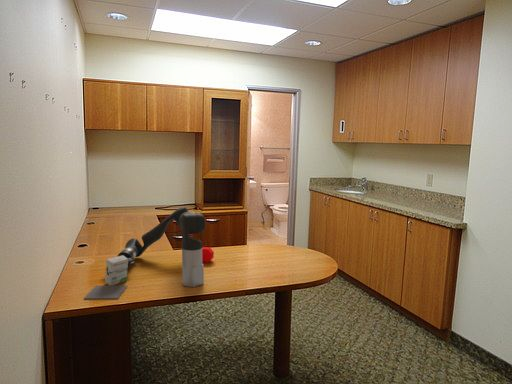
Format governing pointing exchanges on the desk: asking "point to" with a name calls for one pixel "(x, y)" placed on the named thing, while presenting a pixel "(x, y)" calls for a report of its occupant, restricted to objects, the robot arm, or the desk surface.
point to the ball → (207, 254)
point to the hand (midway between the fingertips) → (115, 267)
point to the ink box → (116, 270)
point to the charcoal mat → (105, 292)
